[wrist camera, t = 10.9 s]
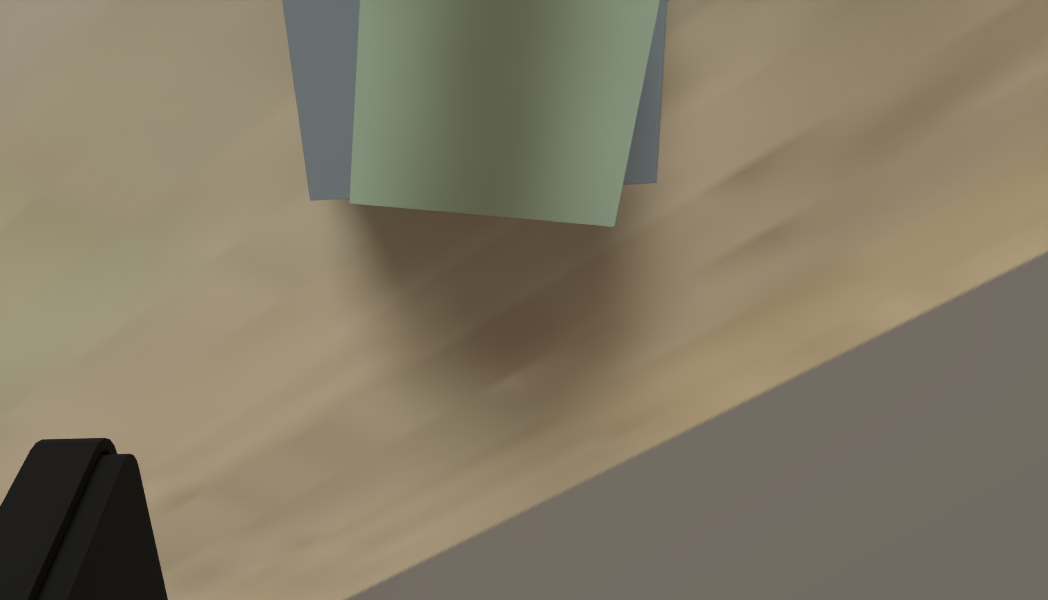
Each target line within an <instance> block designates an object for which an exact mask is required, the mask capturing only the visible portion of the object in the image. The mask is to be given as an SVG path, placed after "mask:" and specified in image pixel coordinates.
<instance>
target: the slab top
mask: <svg viewBox="0 0 1048 600" xmlns="http://www.w3.org/2000/svg"><path fill="white" fill-rule="evenodd" d="M282 1H283V8H284V16H285V23H286V30H287V37H288V44H289V51H290V59H291V66H292V73H293V80H294V87H295V95H296V102H297V109H298V116H299V123H300V130H301V138H302V145H303V152H304V159H305V166H306V174H307V181H308V188H309V195H310V201H311V200H331V199H350V183H351V164H352V145H353V126H354V107H355V87H356V68H357V49H358V30H359V11H360V0H282ZM666 10H667V0H660V2H659V7H658V12H657V17H656V22H655V27H654V32H653V37H652V42H651V47H650V52H649V57H648V62H647V67H646V72H645V77H644V82H643V86H642V91H641V96H640V101H639V106H638V111H637V116H636V121H635V126H634V131H633V136H632V141H631V146H630V151H629V156H628V161H627V166H626V171H625V176H624V181H623V185H625V184H644V183H657V167H658V150H659V132H660V115H661V97H662V80H663V62H664V45H665V27H666Z"/></svg>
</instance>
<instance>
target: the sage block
mask: <svg viewBox="0 0 1048 600" xmlns="http://www.w3.org/2000/svg"><path fill="white" fill-rule="evenodd" d="M659 2H660V0H360V11H359V30H358V49H357V68H356V87H355V107H354V126H353V145H352V164H351V183H350V202H349V203H351V204H362V205H374V206H385V207H396V208H407V209H419V210H430V211H441V212H453V213H464V214H475V215H486V216H498V217H509V218H520V219H531V220H543V221H554V222H565V223H576V224H588V225H599V226H610V227H614V226H615V221H616V216H617V211H618V206H619V201H620V196H621V191H622V186H623V181H624V176H625V171H626V166H627V161H628V156H629V151H630V146H631V141H632V136H633V131H634V126H635V121H636V116H637V111H638V106H639V101H640V96H641V91H642V86H643V82H644V77H645V72H646V67H647V62H648V57H649V52H650V47H651V42H652V37H653V32H654V27H655V22H656V17H657V12H658V7H659Z"/></svg>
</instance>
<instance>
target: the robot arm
mask: <svg viewBox="0 0 1048 600" xmlns="http://www.w3.org/2000/svg"><path fill="white" fill-rule="evenodd" d="M0 600H168V598H167V594H166V589H165V585H164V580H163V576H162V571H161V567H160V562H159V558H158V553H157V548H156V544H155V539H154V535H153V530H152V526H151V521H150V517H149V512H148V507H147V503H146V498H145V494H144V489H143V485H142V480H141V476H140V471H139V467H138V463H137V460H136V458H135V457H134V455H132V454H117V452H116V449H115V446H114V444H113V443H112V442H111V440H110V439H107V438H86V439H46V440H40V441H39V442H37V443H36V444H35V445H34V446H33V448H32V449H31V450H30V452H29V454H28V456H27V458H26V460H25V461H24V463H23V465H22V467H21V469H20V471H19V473H18V474H17V476H16V478H15V480H14V482H13V484H12V486H11V487H10V489H9V491H8V493H7V495H6V497H5V499H4V501H3V502H2V504H1V506H0Z"/></svg>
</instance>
